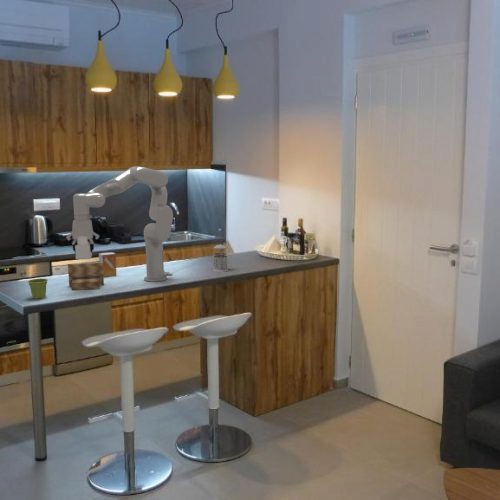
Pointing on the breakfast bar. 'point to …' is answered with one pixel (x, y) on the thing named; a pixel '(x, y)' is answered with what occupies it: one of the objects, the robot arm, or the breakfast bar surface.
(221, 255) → the french press
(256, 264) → the breakfast bar surface
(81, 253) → the medicine bottle
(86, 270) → the wooden crate
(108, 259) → the small box
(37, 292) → the plant pot
